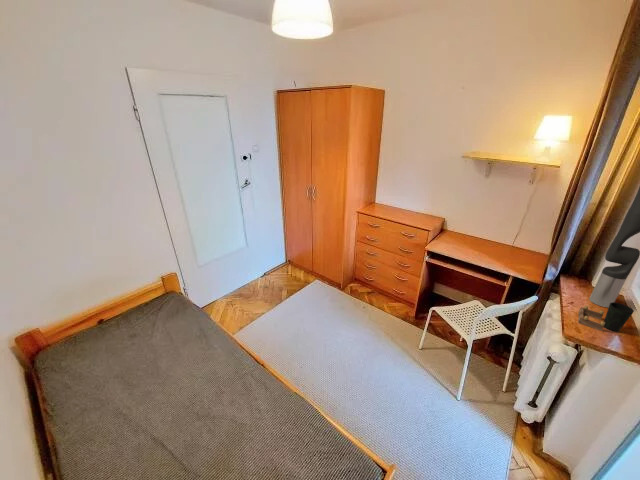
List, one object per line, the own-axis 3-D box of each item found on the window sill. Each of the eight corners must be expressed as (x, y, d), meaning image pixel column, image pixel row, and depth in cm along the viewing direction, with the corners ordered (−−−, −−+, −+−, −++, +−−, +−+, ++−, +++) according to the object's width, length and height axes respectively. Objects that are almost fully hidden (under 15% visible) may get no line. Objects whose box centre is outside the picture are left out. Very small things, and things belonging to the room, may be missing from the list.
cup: (598, 320, 134) (609, 300, 130) (620, 327, 130) (632, 306, 125) (600, 328, 128) (611, 307, 124) (623, 336, 124) (635, 314, 120)
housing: (578, 311, 141) (581, 304, 139) (600, 318, 135) (604, 311, 134) (578, 323, 132) (581, 315, 130) (601, 331, 127) (605, 323, 125)
